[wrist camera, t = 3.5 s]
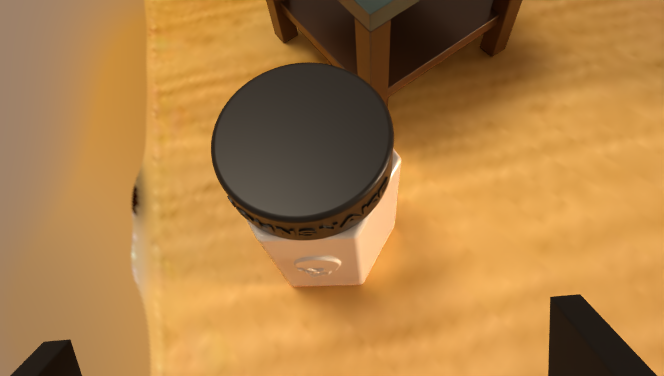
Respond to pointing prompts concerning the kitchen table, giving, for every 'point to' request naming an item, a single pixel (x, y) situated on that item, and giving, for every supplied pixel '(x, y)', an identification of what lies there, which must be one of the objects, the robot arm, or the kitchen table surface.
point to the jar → (311, 170)
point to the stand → (394, 33)
